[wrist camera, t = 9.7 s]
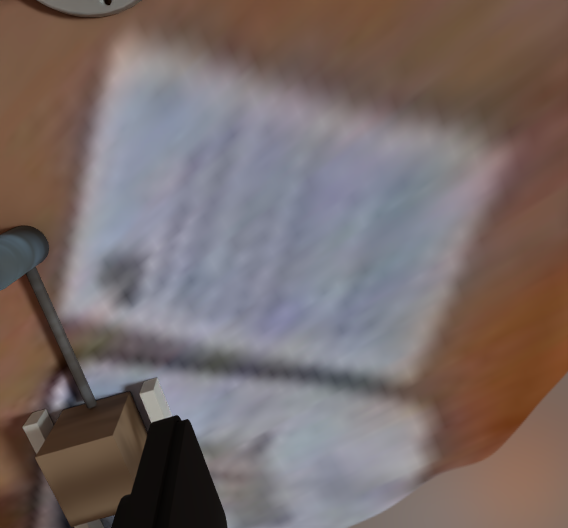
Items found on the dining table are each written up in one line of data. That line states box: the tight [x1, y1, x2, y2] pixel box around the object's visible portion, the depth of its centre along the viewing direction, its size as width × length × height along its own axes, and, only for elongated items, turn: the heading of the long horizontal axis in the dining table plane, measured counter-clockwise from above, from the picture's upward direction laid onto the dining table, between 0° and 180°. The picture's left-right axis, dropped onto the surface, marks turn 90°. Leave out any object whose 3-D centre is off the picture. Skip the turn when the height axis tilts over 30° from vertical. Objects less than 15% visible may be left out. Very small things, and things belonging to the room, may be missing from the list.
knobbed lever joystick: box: [0, 226, 148, 527], centre depth 36 cm, size 23×6×6 cm, turn 15°
